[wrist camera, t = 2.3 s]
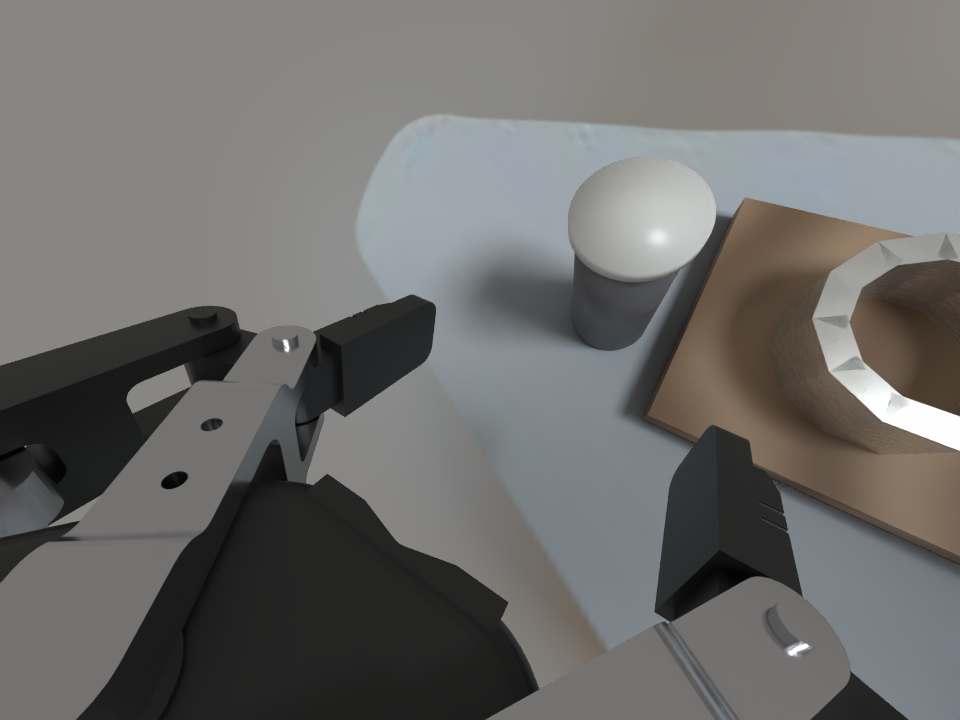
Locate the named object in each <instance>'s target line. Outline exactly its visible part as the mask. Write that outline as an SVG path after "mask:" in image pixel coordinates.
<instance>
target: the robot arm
mask: <svg viewBox="0 0 960 720" xmlns="http://www.w3.org/2000/svg"><path fill="white" fill-rule="evenodd" d="M435 316H436V307H435V305H434V304H433V303H432V302H429V301H427V300H425V299H422V298H420V297H418V296H415V295H409V296H406V297H404V298H402V299H399V300H397V301H395V302H392V303H387V304H381V305H376V306H374V307H371V308H369V309H366V310H364V312H359V313H357V314H355V315H353V316H352V317H347V318H345V319H343V320H340V321H338V322H335V323H333V324H331V325H328V326H326V327H324V328H321V329H319V330H317V331H314V332H312V331H311V330H308V329H306V328H303V327H299V326H278V327H273V328H270V329H267V330H264V331H262V332H260V333H259V334H257V333H253V332H249V331H245V330H241V329H240V328H239V323H238V320H237V315H236V313H235V312H234V311H232V310H231V309H228V308H224V307H218V306H201V307H194V308H190V309H186V310H182V311H179V312H176V313H173V314H169V315H166V316H163V317H159V318H156V319H153V320H150V321H146V322H143V323H140V324H136V325H133V326H130V327H127V328H123V329H120V330H117V331H113V332H110V333H107V334H104V335H100V336H97V337H93V338H90V339H87V340H84V341H81V342H77V343H74V344H71V345H67V346H64V347H61V348H57V349H54V350H51V351H47V352H44V353H41V354H37V355H34V356H31V357H28V358H24V359H21V360H18V361H15V362H11V363H8V364H5V365H1V366H0V720H908V719H907V718H906V717H904V716H903V715H902V714H901V713H900V712H898V711H897V710H896V709H895V708H894V707H892V706H891V705H890V704H889V703H888V702H886V701H885V700H884V699H883V698H882V697H880V696H879V695H878V694H877V693H876V692H874V691H873V690H872V689H871V688H869V687H868V686H867V685H866V684H865V683H863V682H862V681H861V680H860V679H859V678H858V677H857V676H856V675H854V674H853V673H852V672H851V671H850V664H849V660H848V657H847V654H846V652H845V649H844V647H843V645H842V643H841V641H840V640H839V638H838V636H837V635H836V633H835V632H834V630H833V629H832V627H831V626H830V625H829V623H828V622H827V621H826V620H825V618H824V617H823V616H822V615H821V614H820V613H819V612H818V611H817V610H816V609H815V608H814V607H813V606H812V605H811V604H810V603H809V602H808V601H807V600H805V599H804V598H803V596H802V592H801V587H800V582H799V578H798V573H797V569H796V564H795V560H794V555H793V551H792V546H791V542H790V537H789V534H788V533H786V532H787V530H788V528H787V523H786V519H785V516H783V513H784V510H783V505H782V501H781V496H780V492H779V491H778V489H777V488H776V486H775V485H774V483H773V482H772V480H771V479H770V477H769V476H768V474H767V473H766V471H764V470H762V469H760V468H757V467H755V466H753V460H752V453H751V447H750V442H749V440H748V439H745V438H743V437H741V436H738V435H736V434H734V433H731V432H729V431H727V430H725V429H722V428H720V427H718V426H715V425H711V426H709V427H708V428H707V429H706V430H705V432H704V433H703V434H702V436H701V437H700V438H699V440H698V441H697V442H696V444H695V445H694V446H693V448H692V449H691V450H690V452H689V453H688V455H687V456H686V457H685V459H684V460H683V461H682V463H681V464H680V465H679V467H678V468H677V470H676V472H675V474H674V476H673V478H672V481H671V484H670V488H669V495H668V503H667V512H666V520H665V528H664V537H663V545H662V553H661V562H660V570H659V578H658V587H657V595H656V603H655V613H657V614H659V615H660V616H662V617H663V618H665V619H667V620H668V621H670V622H671V623H669V624H666V623H665V622H661V623H659V624H656V625H654V626H652V627H651V628H649V629H647V630H645V631H643V632H641V633H640V634H638V635H636V636H634V637H633V638H631V639H629V640H627V641H625V642H624V643H622V644H620V645H618V646H616V647H615V648H613V649H611V650H609V651H607V652H606V653H604V654H602V655H600V656H599V657H597V658H595V659H593V660H592V661H590V662H588V663H586V664H584V665H582V666H581V667H579V668H577V669H575V670H574V671H572V672H570V673H568V674H566V675H565V676H563V677H561V678H559V679H557V680H556V681H554V682H552V683H550V684H548V685H547V686H545V687H543V688H541V689H539V687H538V684H537V682H536V679H535V677H534V674H533V671H532V669H531V666H530V664H529V662H528V660H527V658H526V656H525V654H524V653H523V650H522V649H521V647H520V645H519V644H518V642H517V640H516V639H515V637H514V636H513V634H512V633H511V632H510V630H509V629H508V628H507V626H506V625H505V624H504V623H503V621H502V620H501V618H502V616H503V613H504V611H505V608H506V607H507V604H508V602H507V601H506V600H504V599H503V598H502V597H500V596H499V595H497V594H496V593H494V592H493V591H492V590H490V589H489V588H487V587H486V586H485V585H483V584H482V583H480V582H479V581H478V580H476V579H475V578H473V577H472V576H471V575H469V574H468V573H466V572H465V571H464V570H462V569H461V568H459V567H458V566H456V565H454V564H451V563H448V562H446V561H443V560H440V559H438V558H435V557H432V556H429V555H427V554H424V553H421V552H418V551H415V550H413V549H410V548H407V547H405V546H403V545H401V544H399V543H398V542H397V541H396V540H395V539H394V538H393V537H392V535H391V534H390V533H389V531H388V530H387V529H386V528H385V526H384V525H383V523H382V522H381V521H380V519H379V518H378V517H377V516H376V514H375V513H374V512H373V510H372V509H371V508H370V506H369V505H368V504H367V502H366V501H365V500H364V499H362V498H361V497H359V496H358V495H356V494H355V493H354V492H352V491H351V490H350V489H348V488H347V487H345V486H344V485H343V484H341V483H339V482H338V481H337V480H335V479H334V478H333V477H331V476H330V475H328V474H327V475H325V476H324V477H323V478H322V479H320V480H319V481H318V482H317V483H315V484H314V485H310V484H306V477H307V472H308V469H309V466H310V463H311V459H312V456H313V453H314V450H315V446H316V444H317V441H318V437H319V434H320V431H321V428H322V425H323V422H324V412H325V411H326V410H328V409H329V408H331V409H333V410H334V411H336V412H338V413H339V414H341V415H342V416H344V417H346V416H347V415H349V414H350V413H352V412H353V411H354V410H356V409H357V408H359V407H360V406H362V405H363V404H365V403H366V402H367V401H369V400H370V399H372V398H373V397H374V396H376V395H377V394H379V393H381V392H382V391H383V390H385V389H386V388H388V387H389V386H390V385H392V384H394V383H395V382H396V381H398V380H399V379H401V378H402V377H403V376H405V375H407V374H408V373H409V372H411V371H412V370H414V369H415V368H417V367H418V366H419V365H421V364H422V363H424V362H425V360H426V359H427V358H428V356H429V354H430V352H431V349H432V342H433V333H434V325H435ZM183 364H184V366H185V369H186V371H187V374H188V377H189V380H190V383H191V387H189V388H187V389H185V390H183V391H180V392H178V393H176V394H174V395H172V396H170V397H168V398H165V399H163V400H161V401H159V402H157V403H155V404H153V405H150V406H148V407H146V408H144V409H142V410H140V411H138V412H135V413H133V414H132V412H131V410H130V408H129V406H128V404H127V401H126V398H127V394H128V392H129V391H130V390H131V389H132V387H134V386H135V385H136V384H138V383H140V382H142V381H144V380H147V379H149V378H152V377H154V376H156V375H159V374H161V373H164V372H166V371H169V370H171V369H173V368H176V367H178V366H181V365H183ZM26 445H27V446H26ZM24 446H26V448H25V447H24ZM100 495H101V496H100ZM98 496H100V498H99V499H98V500H97V501H96V503H95V504H94V505H93V506H92V507H91V509H90V510H89V511H88V512H87V513H86V515H85V516H84V517H83V518H82V519H81V521H77V522H72V523H67V524H62V525H58V526H53V527H49V525H50V524H52V523H54V522H55V521H57V520H59V519H61V518H62V517H64V516H65V515H67V514H69V513H71V512H72V511H74V510H76V509H78V508H80V507H81V506H83V505H85V504H86V503H88V502H90V501H92V500H93V499H95V498H97V497H98Z"/></svg>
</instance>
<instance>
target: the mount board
mask: <svg viewBox="0 0 960 720" xmlns="http://www.w3.org/2000/svg"><path fill="white" fill-rule="evenodd" d="M907 237H914V236H910V235H905V234H901V233H897V232H892V231H888V230H884V229H879V228H875V227H871V226H866V225H862V224H858V223H853V222H849V221H845V220H840V219H836V218H832V217H827V216H823V215H819V214H814V213H810V212H806V211H801V210H797V209H793V208H788V207H784V206H780V205H775V204H771V203H767V202H763V201H758V200H754V199H750V198H745V199H744V200H743V202H742V203H741V205H740V206H739V208H738V209H737V211H736V212H735V214H734V215H733V218H732V220H731V222H730V224H729V227H728V229H727V231H726V233H725V235H724V238H723V240H722V242H721V244H720V247H719V249H718V251H717V253H716V255H715V258H714V260H713V262H712V264H711V267H710V269H709V271H708V273H707V275H706V278H705V280H704V282H703V284H702V287H701V289H700V291H699V293H698V295H697V298H696V300H695V302H694V304H693V307H692V309H691V311H690V313H689V315H688V318H687V320H686V322H685V324H684V327H683V329H682V331H681V333H680V335H679V338H678V340H677V342H676V344H675V346H674V349H673V351H672V353H671V355H670V358H669V360H668V362H667V364H666V366H665V369H664V371H663V373H662V375H661V378H660V380H659V382H658V384H657V386H656V389H655V391H654V393H653V395H652V398H651V400H650V402H649V404H648V406H647V409H646V411H645V413H644V415H643V418H642V419H644V420H646V421H648V422H650V423H652V424H655V425H657V426H659V427H661V428H663V429H666V430H668V431H670V432H672V433H674V434H676V435H679V436H681V437H683V438H685V439H687V440H690V441H692V442H694V443H696V442H697V441H698V440H699V438H700V437H701V436H702V434H703V433H704V432H705V430H706V429H707V428H708V427H709V426H711V425H715V426H718V427H720V428H722V429H725V430H727V431H729V432H731V433H734V434H736V435H738V436H741V437H743V438H745V439H748V440H749V442H750V447H751V453H752V460H753V466H755V467H757V468H760V469H762V470H764V471H766V473H767V474H768V476H769V477H770V478H773V479H775V480H777V481H779V482H781V483H783V484H786V485H788V486H790V487H792V488H794V489H797V490H799V491H801V492H803V493H805V494H807V495H810V496H812V497H814V498H816V499H818V500H821V501H823V502H825V503H827V504H829V505H831V506H834V507H836V508H838V509H840V510H842V511H845V512H847V513H849V514H851V515H853V516H855V517H858V518H860V519H862V520H864V521H866V522H869V523H871V524H873V525H875V526H877V527H880V528H882V529H884V530H886V531H888V532H890V533H893V534H895V535H897V536H899V537H901V538H904V539H906V540H908V541H910V542H912V543H914V544H917V545H919V546H921V547H923V548H925V549H928V550H930V551H932V552H934V553H936V554H938V555H941V556H943V557H945V558H947V559H949V560H952V561H954V562H956V563H958V564H960V453H937V454H894V455H880V454H877V453H875V452H872V451H870V450H867V449H865V448H862V447H860V446H858V445H855V444H853V443H850V442H848V441H845V440H843V439H840V438H838V437H835V436H833V435H830V434H828V433H825V432H823V431H820V430H819V429H818V428H817V427H816V426H815V425H814V424H813V423H812V422H811V421H810V420H809V419H808V418H807V417H806V416H805V415H804V414H803V413H802V412H801V411H800V410H799V409H798V408H797V407H796V406H795V405H794V404H793V403H792V402H791V401H790V400H789V399H788V398H787V397H786V396H785V395H784V394H783V393H782V392H781V391H780V389H779V385H778V381H777V378H776V374H775V370H774V367H773V363H772V359H771V356H770V352H769V348H768V343H769V341H770V338H771V336H772V333H773V331H774V328H775V326H776V323H777V321H778V318H779V316H780V314H781V311H782V309H783V306H785V305H786V304H788V303H789V302H790V301H792V300H793V299H794V298H796V297H797V296H798V295H800V294H801V293H802V292H804V291H805V290H806V289H808V288H809V287H810V286H812V285H813V284H814V283H816V282H817V281H819V280H820V279H821V278H823V277H824V276H825V275H827V274H828V273H829V272H831V271H832V270H834V269H835V268H837V267H838V266H840V265H842V264H843V263H845V262H846V261H848V260H849V259H851V258H852V257H854V256H856V255H857V254H859V253H860V252H862V251H863V250H865V249H866V248H868V247H870V246H871V245H873V244H874V243H876V242H877V241H884V240H891V239H899V238H907ZM849 323H850V326H851V329H852V332H853V334H854V337H855V340H856V343H857V346H858V349H859V352H860V354H861V357H862V360H863V362H864V363H865V364H866V365H867V366H869V367H870V368H871V369H872V370H873V371H874V372H875V373H877V374H878V375H879V376H880V377H881V378H882V379H883V380H884V381H886V382H887V383H888V384H889V385H890V386H891V387H892V388H894V389H895V390H896V391H897V392H898V393H899V394H900V395H901V396H903V397H906V398H908V399H911V400H914V401H917V402H920V403H923V404H925V405H928V406H931V407H934V408H937V409H940V410H942V411H945V412H948V411H950V410H951V409H953V408H955V407H956V406H958V405H959V403H960V350H959V348H958V345H957V343H956V341H955V339H954V337H953V336H952V335H951V334H949V333H948V332H947V331H946V330H944V329H943V328H942V327H940V326H939V325H938V324H937V323H935V322H934V321H933V320H931V319H930V318H929V317H928V316H926V315H925V314H924V313H922V312H921V311H920V310H917V309H913V308H910V307H906V306H903V305H899V304H896V303H892V302H889V301H885V300H882V299H878V298H873V299H863V300H857V302H856V305H855V308H854V311H853V313H852V316H851V319H850V321H849Z"/></svg>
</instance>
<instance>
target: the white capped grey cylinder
mask: <svg viewBox="0 0 960 720" xmlns="http://www.w3.org/2000/svg"><path fill="white" fill-rule="evenodd" d="M715 219H716V205H715V200H714V197H713V194H712V192H711V190H710V188H709V186H708V185H707V184H706V182H705V181H704V180H703V179H702V178H701V177H700V176H699V175H698V174H697V173H695V172H694V171H693V170H691V169H690V168H688V167H686V166H684V165H682V164H680V163H677V162H675V161H671V160H668V159H663V158H656V157H637V158H630V159H625V160H621V161H618V162H615V163H612V164H610V165H608V166H606V167H604V168H602V169H600V170H598V171H597V172H595V173H594V174H593V175H591V176H590V177H589V178H588V179H587V180H586V181H585V182H584V183H583V184H582V185H581V186H580V187H579V189H578V190H577V192H576V193H575V195H574V197H573V199H572V201H571V204H570V208H569V213H568V235H569V240H570V243H571V246H572V248H573V250H574V252H575V260H574V287H573V313H572V319H573V325H574V328H575V330H576V332H577V333H578V335H579V336H580V337H581V338H582V339H583V340H584V341H585V342H586V343H588V344H589V345H591V346H593V347H596V348H599V349H603V350H617V349H622V348H625V347H627V346H630V345H631V344H633V343H634V342H636V341H637V340H638V339H639V338H640V337H641V336H642V334H643V333H644V331H645V329H646V328H647V326H648V324H649V322H650V321H651V319H652V317H653V315H654V314H655V312H656V310H657V308H658V307H659V305H660V303H661V301H662V300H663V298H664V296H665V294H666V293H667V291H668V289H669V287H670V286H671V284H672V282H673V280H674V279H675V277H676V275H677V273H678V272H679V270H681V269H682V268H684V267H685V266H686V265H688V264H689V263H690V262H691V261H692V260H693V259H694V258H695V257H696V256H697V255H698V253H699V252H700V251H701V249H702V248H703V246H704V245H705V243H706V241H707V240H708V238H709V236H710V234H711V233H712V230H713V227H714V224H715Z"/></svg>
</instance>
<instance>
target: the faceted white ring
mask: <svg viewBox="0 0 960 720" xmlns="http://www.w3.org/2000/svg"><path fill="white" fill-rule="evenodd" d="M873 298H878V299H882V300H885V301H889V302H892V303H896V304H899V305H903V306H906V307H910V308H913V309H917V310H920V311H921V312H922V313H924V314H925V315H926V316H928V317H929V318H930V319H931V320H933V321H934V322H935V323H937V324H938V325H939V326H940V327H942V328H943V329H944V330H946V331H947V332H948V333H949V334H951V335H952V336H953V337H954V339H955V341H956V343H957V345H958V348H959V350H960V236H959V235H955V234H951V233H938V234H930V235H923V236H915V237H907V238H899V239H891V240H884V241H877V242H876V243H874V244H873V245H871V246H870V247H868V248H866V249H865V250H863V251H862V252H860V253H859V254H857V255H856V256H854V257H852V258H851V259H849V260H848V261H846V262H845V263H843V264H842V265H840V266H838V267H837V268H835V269H834V270H832V271H831V272H829V273H828V274H827V275H825V276H824V277H823V278H821V279H820V280H819V281H817V282H816V283H814V284H813V285H812V286H810V287H809V288H808V289H806V290H805V291H804V292H802V293H801V294H800V295H798V296H797V297H796V298H794V299H793V300H792V301H790V302H789V303H788V304H786V305H785V306H783V309H782V311H781V314H780V316H779V318H778V321H777V323H776V326H775V328H774V331H773V333H772V336H771V338H770V341H769V343H768V348H769V352H770V356H771V359H772V363H773V367H774V370H775V374H776V378H777V381H778V385H779V389H780V391H781V392H782V393H783V394H784V395H785V396H786V397H787V398H788V399H789V400H790V401H791V402H792V403H793V404H794V405H795V406H796V407H797V408H798V409H799V410H800V411H801V412H802V413H803V414H804V415H805V416H806V417H807V418H808V419H809V420H810V421H811V422H812V423H813V424H814V425H815V426H816V427H817V428H818V429H819V430H820V431H823V432H825V433H828V434H830V435H833V436H835V437H838V438H840V439H843V440H845V441H848V442H850V443H853V444H855V445H858V446H860V447H862V448H865V449H867V450H870V451H872V452H875V453H877V454H880V455H894V454H937V453H960V403H959V405H958V406H956V407H955V408H953V409H951V410H950V411H948V412H945V411H942V410H940V409H937V408H934V407H931V406H928V405H925V404H923V403H920V402H917V401H914V400H911V399H908V398H906V397H903V396H901V395H900V394H899V393H898V392H897V391H896V390H895V389H894V388H892V387H891V386H890V385H889V384H888V383H887V382H886V381H884V380H883V379H882V378H881V377H880V376H879V375H878V374H877V373H875V372H874V371H873V370H872V369H871V368H870V367H869V366H867V365H866V364H865V363H864V362H863V360H862V357H861V354H860V352H859V349H858V346H857V343H856V340H855V337H854V334H853V332H852V329H851V326H850V323H849V321H850V319H851V316H852V313H853V311H854V308H855V305H856V302H857V300H863V299H873Z"/></svg>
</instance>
